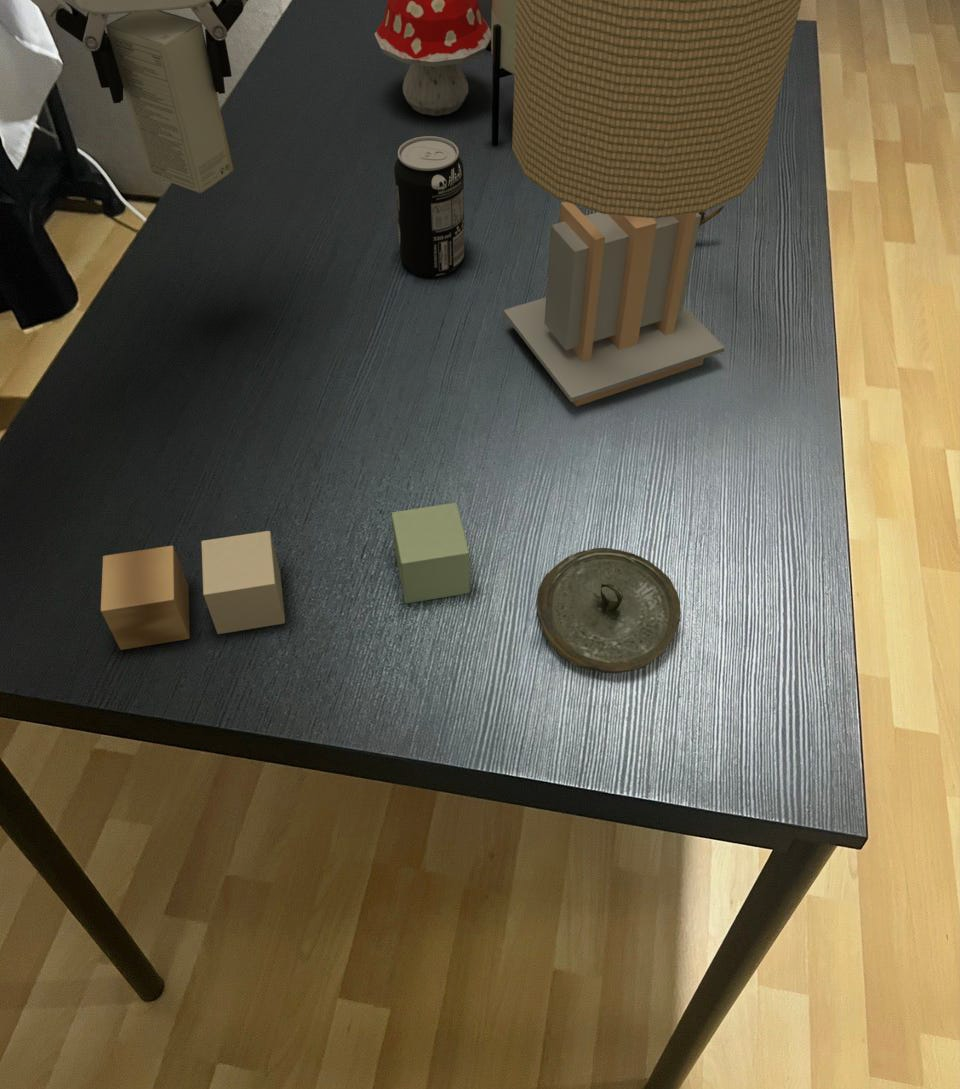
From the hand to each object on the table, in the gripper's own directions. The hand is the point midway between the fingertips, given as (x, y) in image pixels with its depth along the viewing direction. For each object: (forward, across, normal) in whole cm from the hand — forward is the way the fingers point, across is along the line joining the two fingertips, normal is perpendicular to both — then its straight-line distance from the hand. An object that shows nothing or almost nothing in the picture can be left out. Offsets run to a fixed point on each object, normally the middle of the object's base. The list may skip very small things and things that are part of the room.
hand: (169, 88), depth 78 cm
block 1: (+23, +7, +33) cm, 41 cm away
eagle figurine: (+23, -48, -7) cm, 53 cm away
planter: (+23, -41, -29) cm, 55 cm away
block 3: (+23, -14, +34) cm, 43 cm away
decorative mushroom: (+23, -28, -38) cm, 52 cm away
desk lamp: (+23, -35, +11) cm, 44 cm away
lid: (+23, -26, +41) cm, 54 cm away
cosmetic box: (+7, 0, 0) cm, 7 cm away
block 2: (+23, 0, +34) cm, 41 cm away
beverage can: (+23, -22, -6) cm, 32 cm away
